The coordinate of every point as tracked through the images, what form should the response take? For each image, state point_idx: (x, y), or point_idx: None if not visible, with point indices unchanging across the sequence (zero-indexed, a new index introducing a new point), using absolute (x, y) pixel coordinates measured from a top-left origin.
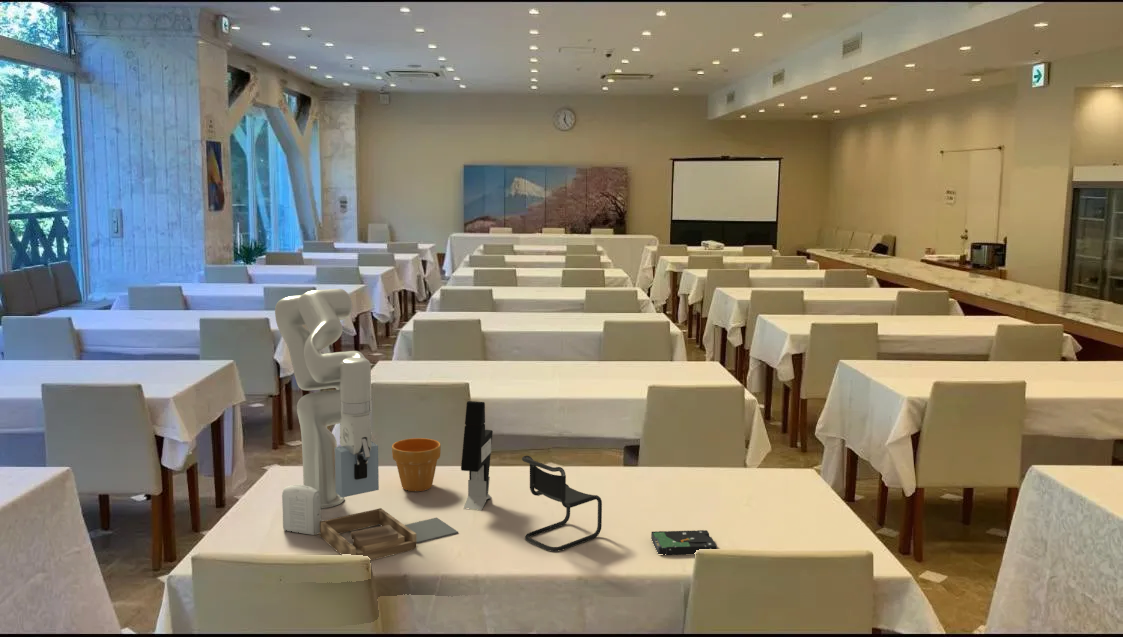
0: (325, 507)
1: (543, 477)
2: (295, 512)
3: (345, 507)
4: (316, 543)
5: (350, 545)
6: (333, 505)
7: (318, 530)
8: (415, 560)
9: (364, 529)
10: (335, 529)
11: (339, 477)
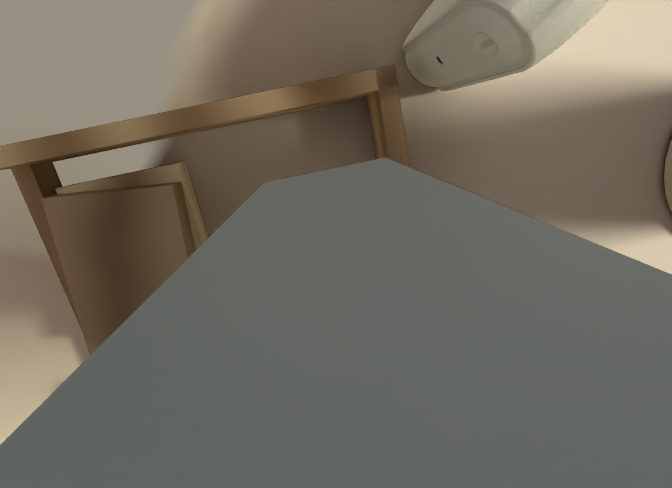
0: (667, 155)
1: None
2: None
3: (630, 232)
4: (307, 44)
5: (23, 154)
6: (667, 190)
7: (414, 72)
8: (27, 368)
9: (184, 250)
10: (377, 144)
11: (293, 201)
